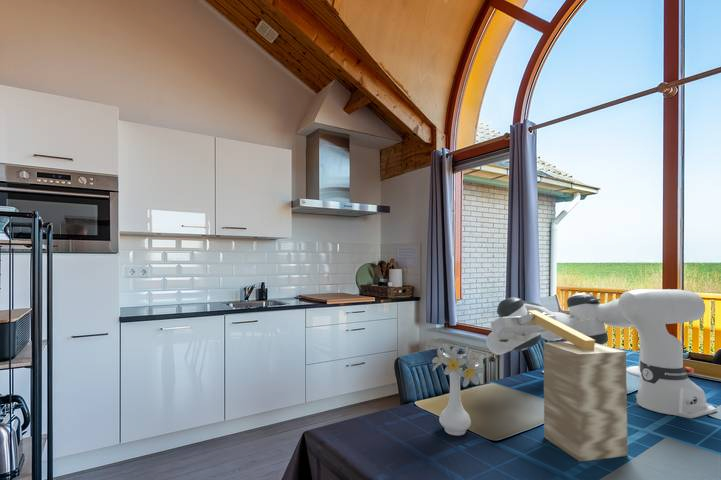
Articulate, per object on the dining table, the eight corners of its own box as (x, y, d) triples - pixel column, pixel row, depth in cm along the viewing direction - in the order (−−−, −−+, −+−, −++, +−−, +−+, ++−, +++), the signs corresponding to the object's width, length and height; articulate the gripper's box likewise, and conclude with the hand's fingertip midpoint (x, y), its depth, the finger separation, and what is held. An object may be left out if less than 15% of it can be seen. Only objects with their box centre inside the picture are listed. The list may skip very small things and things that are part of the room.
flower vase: (462, 450, 102) (461, 357, 103) (421, 424, 118) (421, 343, 118) (497, 440, 108) (496, 352, 109) (453, 416, 123) (453, 339, 124)
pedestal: (587, 432, 113) (586, 340, 113) (627, 455, 100) (625, 351, 101) (544, 437, 110) (543, 342, 110) (579, 461, 97) (578, 354, 98)
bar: (535, 317, 126) (535, 310, 126) (593, 349, 103) (595, 340, 103) (526, 318, 125) (527, 310, 125) (584, 349, 102) (585, 340, 102)
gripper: (546, 338, 134) (572, 324, 123) (491, 341, 130) (512, 326, 118) (540, 320, 137) (564, 305, 126) (486, 322, 133) (506, 306, 121)
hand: (538, 315), depth 122 cm, fingers closed on bar, 3 cm apart
